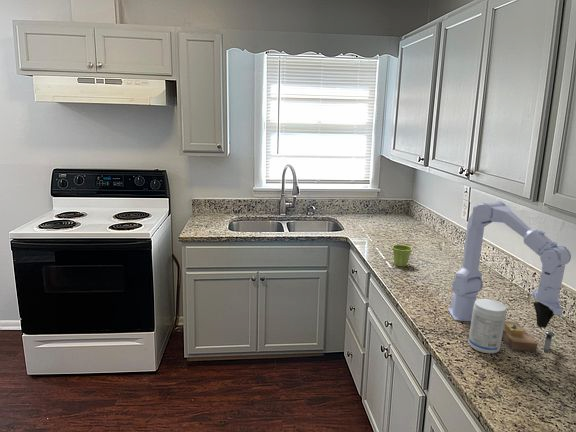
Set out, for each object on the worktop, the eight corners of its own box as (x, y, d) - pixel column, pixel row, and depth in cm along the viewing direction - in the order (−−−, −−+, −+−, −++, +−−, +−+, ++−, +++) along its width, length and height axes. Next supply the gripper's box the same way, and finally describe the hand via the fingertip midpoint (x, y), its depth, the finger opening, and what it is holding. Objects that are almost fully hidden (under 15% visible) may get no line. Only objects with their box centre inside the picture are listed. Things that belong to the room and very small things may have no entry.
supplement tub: (474, 336, 151) (481, 295, 148) (504, 347, 145) (511, 305, 142) (462, 346, 144) (469, 303, 141) (493, 358, 138) (501, 313, 135)
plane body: (493, 328, 158) (495, 320, 157) (515, 330, 158) (517, 322, 157) (511, 350, 144) (513, 341, 143) (535, 352, 143) (537, 343, 142)
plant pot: (402, 269, 214) (404, 251, 212) (386, 263, 220) (388, 246, 218) (414, 265, 220) (416, 248, 218) (397, 260, 226) (399, 243, 224)
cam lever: (539, 361, 138) (542, 345, 136) (542, 345, 148) (545, 330, 146) (548, 364, 136) (551, 347, 135) (551, 348, 146) (554, 332, 145)
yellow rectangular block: (503, 327, 152) (505, 321, 152) (515, 328, 152) (516, 322, 151) (509, 335, 147) (511, 328, 147) (521, 336, 147) (523, 329, 146)
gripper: (576, 296, 130) (567, 339, 133) (551, 277, 144) (543, 317, 147) (551, 294, 130) (542, 337, 133) (528, 276, 144) (521, 315, 147)
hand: (541, 326), depth 140 cm, fingers closed
